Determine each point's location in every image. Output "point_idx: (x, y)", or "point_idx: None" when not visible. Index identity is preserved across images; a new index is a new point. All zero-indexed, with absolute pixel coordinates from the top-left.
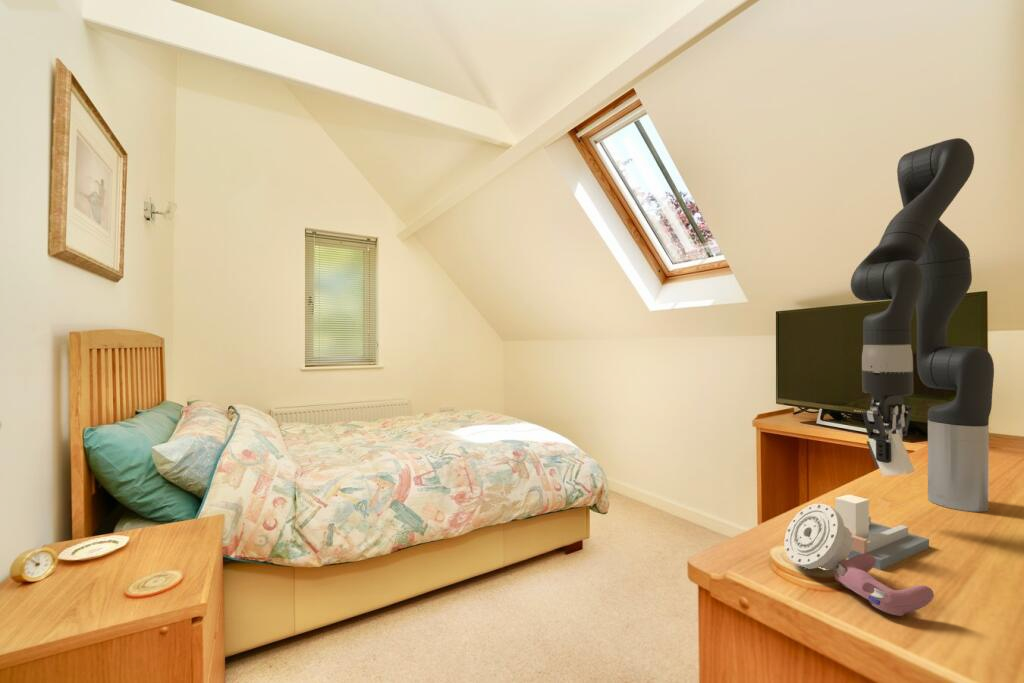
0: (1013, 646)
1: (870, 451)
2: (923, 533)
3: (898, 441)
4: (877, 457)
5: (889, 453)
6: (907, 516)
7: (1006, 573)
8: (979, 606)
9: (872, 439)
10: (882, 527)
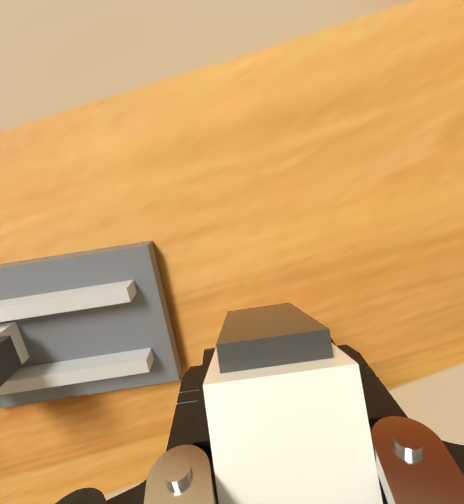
0: None
1: (224, 327)
2: None
3: None
4: (186, 375)
5: None
6: (345, 244)
7: None
8: (38, 490)
9: (211, 413)
10: (146, 313)
